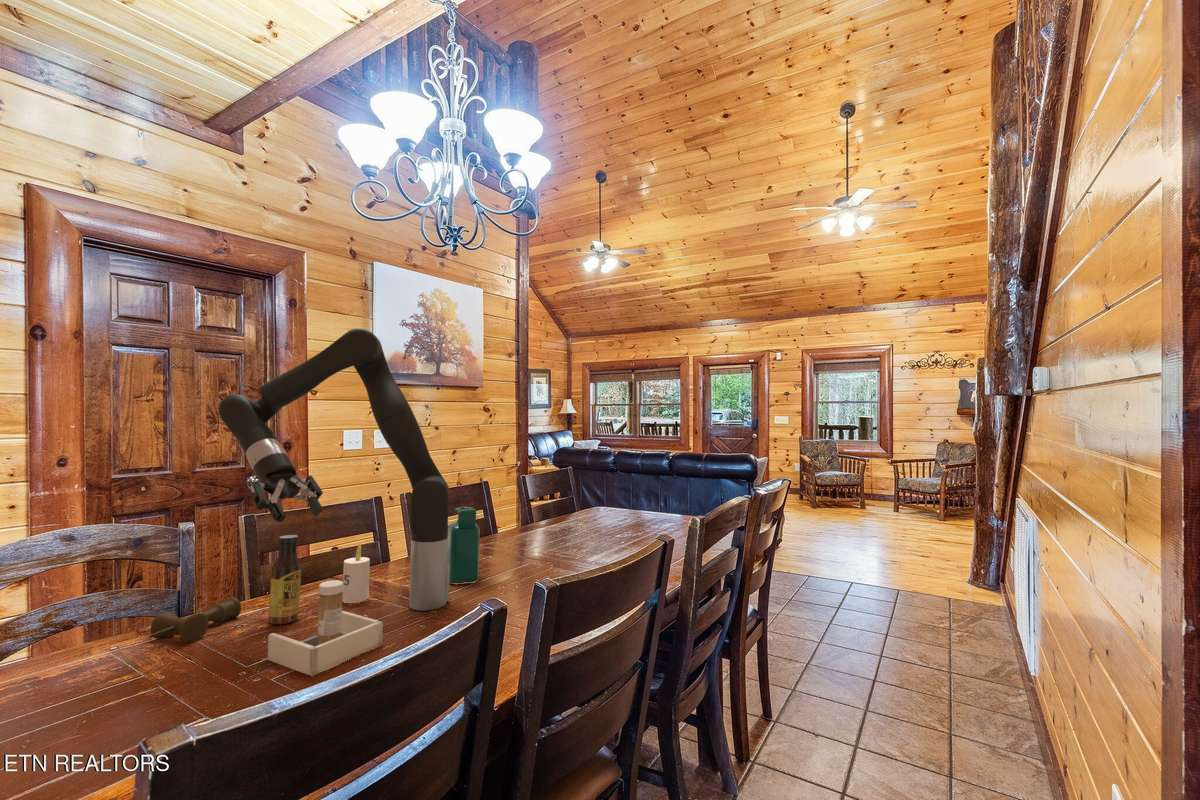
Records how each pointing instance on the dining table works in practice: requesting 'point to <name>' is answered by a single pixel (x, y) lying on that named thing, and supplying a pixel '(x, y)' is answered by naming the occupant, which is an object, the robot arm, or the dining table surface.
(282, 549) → the sauce bottle
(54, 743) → the dining table surface
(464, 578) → the green bottle
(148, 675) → the dining table surface
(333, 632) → the sprinkles bottle
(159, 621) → the kendama
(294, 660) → the caddy
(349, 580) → the candle
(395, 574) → the dining table surface
